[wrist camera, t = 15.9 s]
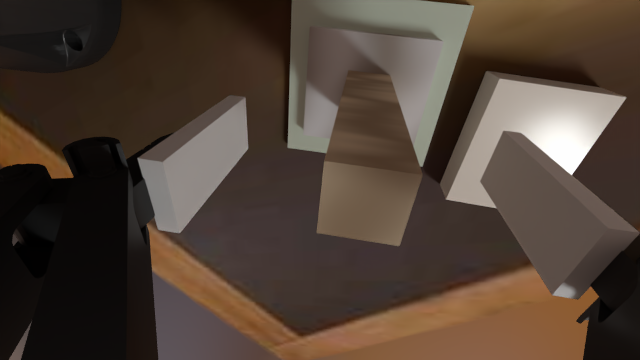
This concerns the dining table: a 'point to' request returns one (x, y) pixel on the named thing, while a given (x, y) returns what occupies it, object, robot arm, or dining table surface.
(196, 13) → the dining table surface
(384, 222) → the wooden handled stamp
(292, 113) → the mat
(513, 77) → the tile
